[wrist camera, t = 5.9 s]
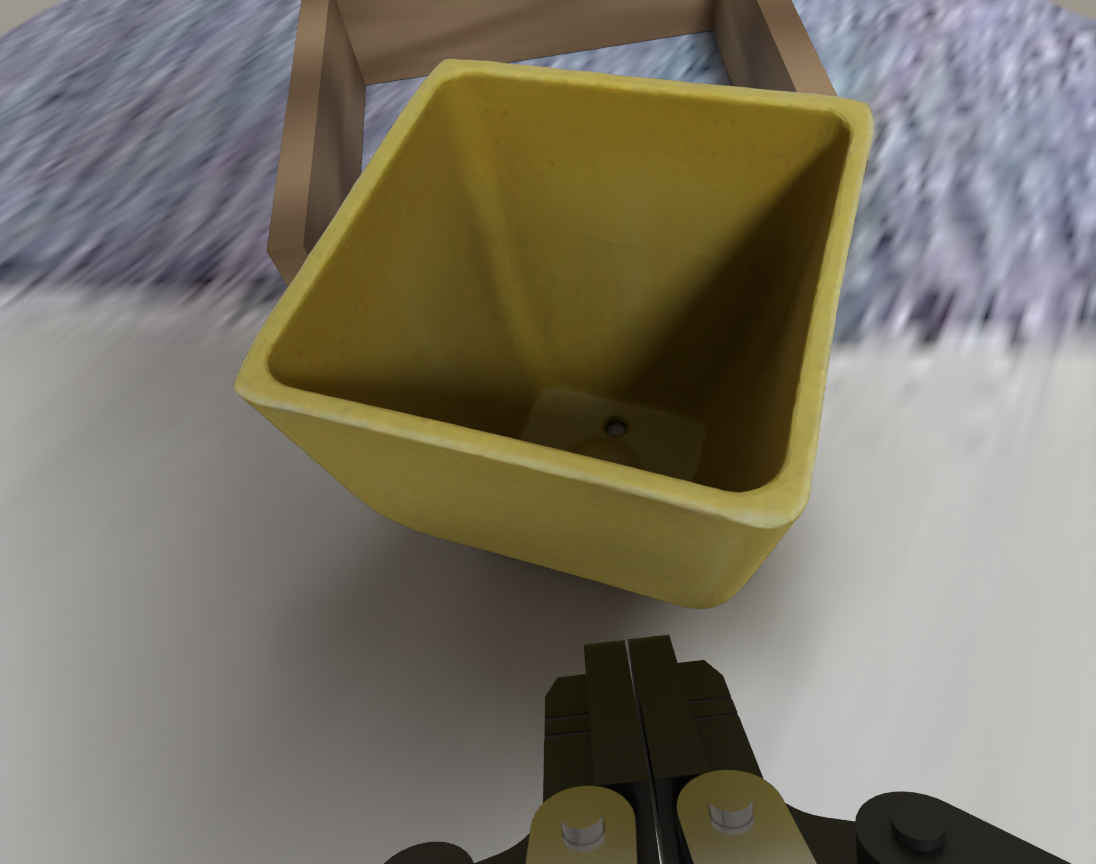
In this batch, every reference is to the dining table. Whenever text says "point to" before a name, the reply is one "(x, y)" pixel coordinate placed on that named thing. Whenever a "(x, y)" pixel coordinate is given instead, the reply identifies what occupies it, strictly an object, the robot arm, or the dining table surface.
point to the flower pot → (578, 320)
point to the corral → (488, 35)
